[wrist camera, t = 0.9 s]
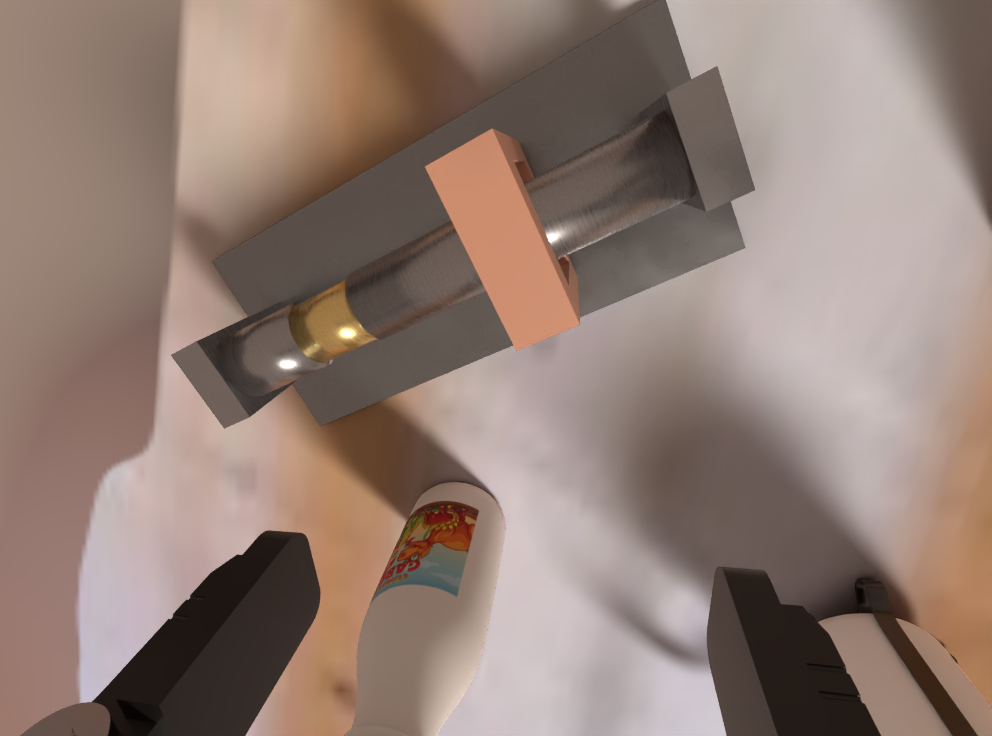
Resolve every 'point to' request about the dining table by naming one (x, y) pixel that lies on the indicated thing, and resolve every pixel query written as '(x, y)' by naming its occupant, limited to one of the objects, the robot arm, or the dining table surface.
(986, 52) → the dining table surface
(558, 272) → the collar
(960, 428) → the dining table surface
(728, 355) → the dining table surface
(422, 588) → the milk bottle
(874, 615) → the coffee press
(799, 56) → the dining table surface
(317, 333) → the rail
